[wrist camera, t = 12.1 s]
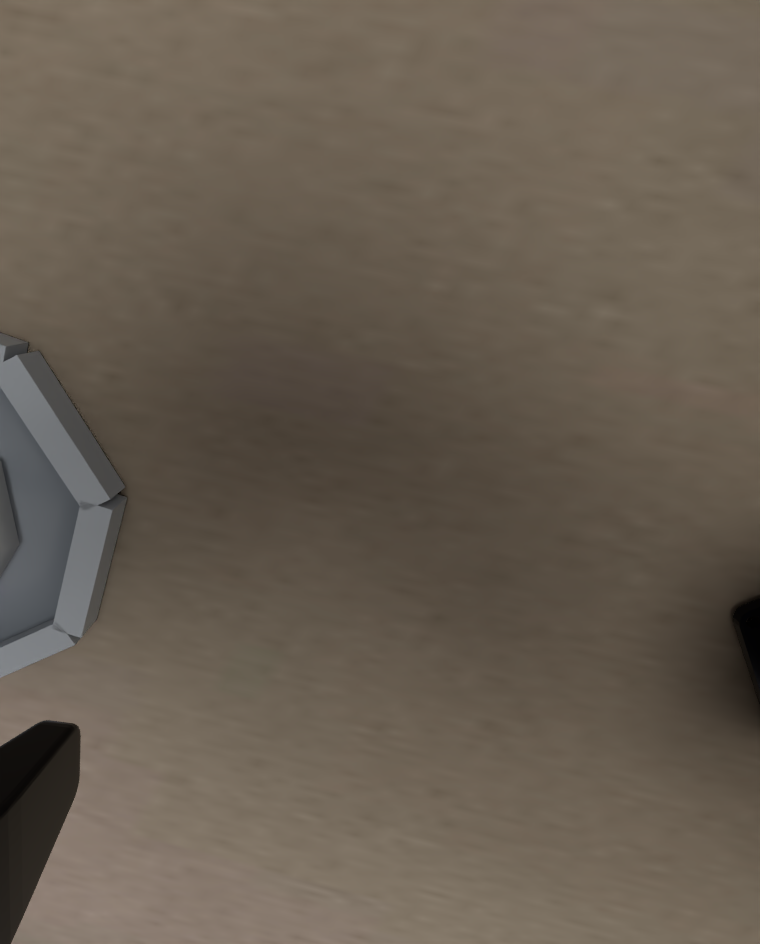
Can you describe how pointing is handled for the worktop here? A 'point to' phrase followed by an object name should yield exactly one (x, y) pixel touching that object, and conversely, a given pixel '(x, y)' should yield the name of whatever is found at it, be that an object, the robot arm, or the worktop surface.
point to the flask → (6, 526)
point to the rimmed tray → (51, 512)
